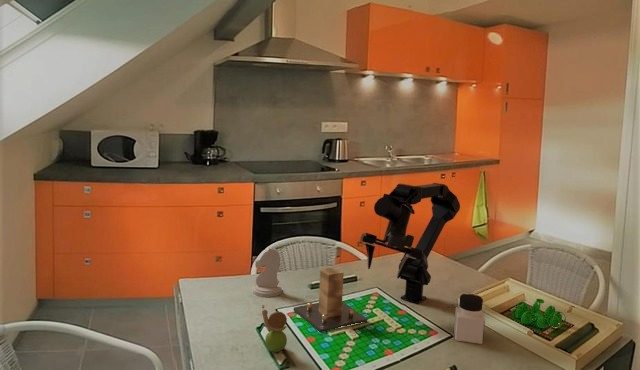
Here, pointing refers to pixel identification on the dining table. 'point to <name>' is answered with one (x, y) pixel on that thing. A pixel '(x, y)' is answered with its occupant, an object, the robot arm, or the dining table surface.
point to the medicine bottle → (469, 319)
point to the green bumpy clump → (526, 317)
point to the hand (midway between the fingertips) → (383, 273)
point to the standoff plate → (324, 323)
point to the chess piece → (268, 275)
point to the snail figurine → (275, 330)
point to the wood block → (331, 292)
